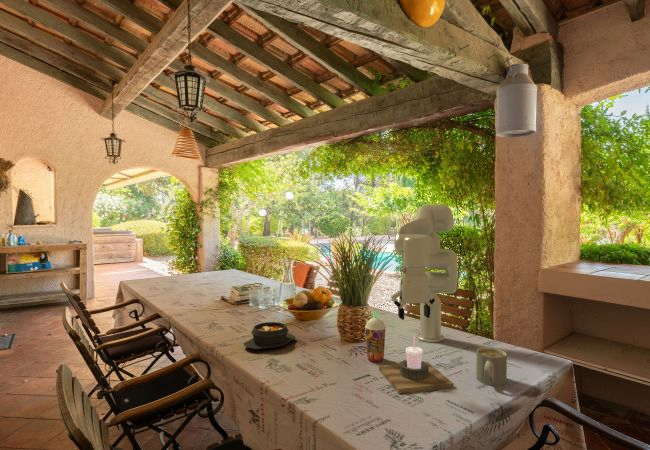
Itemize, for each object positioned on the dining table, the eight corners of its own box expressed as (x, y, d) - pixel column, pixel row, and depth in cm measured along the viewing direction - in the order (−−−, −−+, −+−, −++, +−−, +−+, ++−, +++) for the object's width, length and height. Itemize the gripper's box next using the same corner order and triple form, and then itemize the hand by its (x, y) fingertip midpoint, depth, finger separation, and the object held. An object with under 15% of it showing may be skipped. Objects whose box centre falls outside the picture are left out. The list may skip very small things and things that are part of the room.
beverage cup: (410, 378, 140) (410, 339, 140) (402, 371, 146) (402, 334, 145) (426, 376, 142) (426, 337, 141) (417, 369, 148) (417, 332, 147)
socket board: (378, 369, 152) (378, 356, 151) (427, 365, 156) (427, 352, 155) (398, 393, 132) (398, 378, 132) (453, 387, 136) (453, 373, 136)
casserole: (259, 357, 166) (259, 337, 166) (235, 346, 179) (235, 328, 179) (304, 342, 184) (304, 324, 183) (279, 334, 197) (278, 317, 196)
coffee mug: (483, 371, 149) (483, 345, 149) (510, 379, 142) (510, 351, 142) (467, 383, 139) (467, 355, 139) (496, 392, 133) (496, 362, 132)
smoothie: (369, 364, 157) (369, 314, 156) (362, 357, 165) (361, 309, 164) (389, 362, 159) (389, 312, 158) (380, 355, 167) (380, 308, 166)
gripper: (395, 273, 137) (395, 322, 138) (441, 271, 140) (441, 319, 141) (387, 270, 144) (387, 316, 145) (431, 268, 148) (431, 313, 149)
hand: (414, 317), depth 143 cm, fingers open, 9 cm apart
